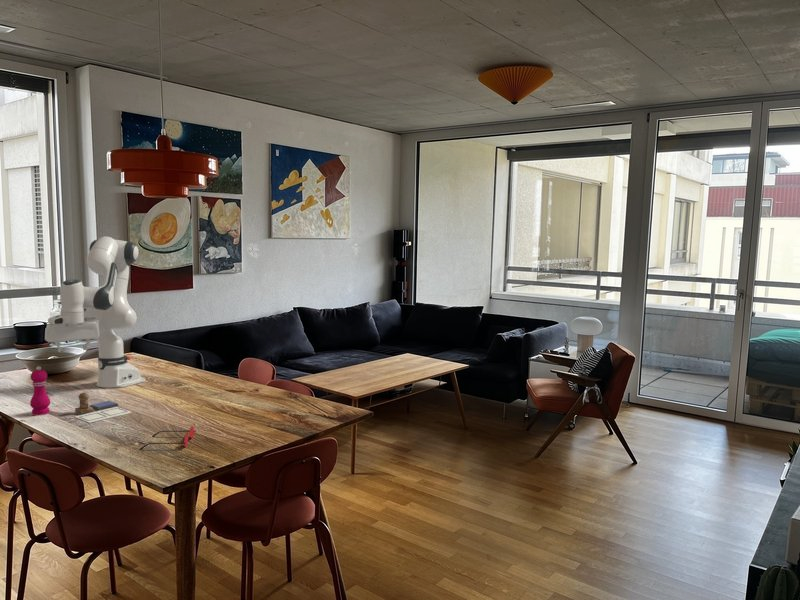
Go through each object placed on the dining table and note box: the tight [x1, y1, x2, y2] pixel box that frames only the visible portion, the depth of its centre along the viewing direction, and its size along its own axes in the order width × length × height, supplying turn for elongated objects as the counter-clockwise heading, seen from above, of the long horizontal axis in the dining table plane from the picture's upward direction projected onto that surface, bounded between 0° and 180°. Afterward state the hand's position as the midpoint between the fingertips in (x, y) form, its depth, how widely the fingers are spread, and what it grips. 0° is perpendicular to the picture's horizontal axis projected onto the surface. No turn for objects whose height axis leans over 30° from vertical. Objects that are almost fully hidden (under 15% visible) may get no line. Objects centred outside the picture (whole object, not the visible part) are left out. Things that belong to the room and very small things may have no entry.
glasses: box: [139, 425, 197, 450], centre depth 221 cm, size 14×16×5 cm
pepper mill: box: [29, 365, 51, 416], centre depth 251 cm, size 7×7×20 cm
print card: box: [74, 406, 133, 424], centre depth 252 cm, size 18×12×1 cm, turn 144°
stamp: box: [74, 391, 94, 415], centre depth 255 cm, size 5×5×8 cm
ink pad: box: [88, 400, 119, 411], centre depth 263 cm, size 9×7×1 cm
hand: (73, 350), depth 255 cm, fingers open, 8 cm apart
